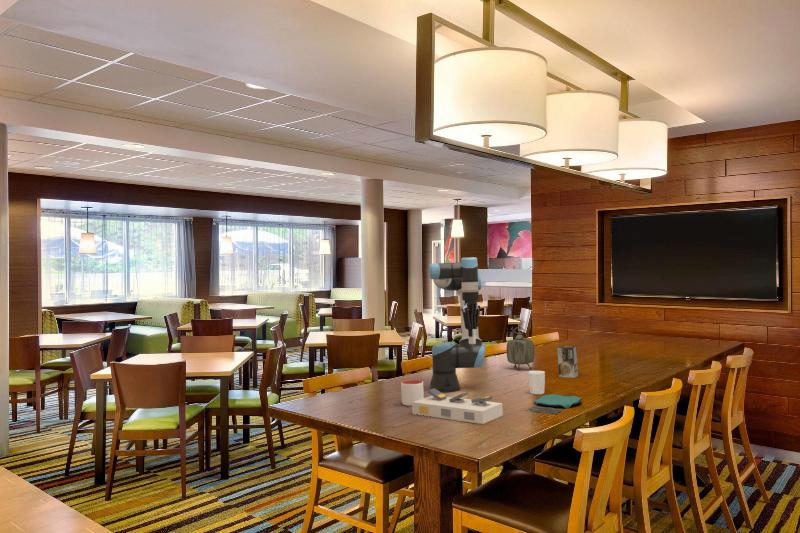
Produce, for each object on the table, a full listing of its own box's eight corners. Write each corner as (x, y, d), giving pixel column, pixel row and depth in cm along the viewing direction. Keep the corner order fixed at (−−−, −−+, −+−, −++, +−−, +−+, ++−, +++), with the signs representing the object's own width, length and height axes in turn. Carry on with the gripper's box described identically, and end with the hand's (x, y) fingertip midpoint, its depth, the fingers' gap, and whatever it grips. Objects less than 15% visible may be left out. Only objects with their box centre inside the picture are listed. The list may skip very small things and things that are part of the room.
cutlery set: (588, 401, 268) (588, 396, 268) (561, 417, 245) (561, 411, 245) (546, 397, 281) (545, 392, 281) (516, 412, 257) (516, 406, 257)
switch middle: (450, 402, 254) (448, 399, 254) (456, 400, 258) (455, 397, 258) (462, 396, 250) (461, 393, 250) (468, 394, 254) (467, 391, 254)
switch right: (471, 403, 247) (471, 399, 247) (477, 400, 251) (477, 397, 251) (486, 401, 243) (485, 397, 243) (492, 399, 247) (491, 395, 247)
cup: (408, 407, 268) (407, 385, 268) (398, 403, 277) (397, 381, 277) (428, 404, 273) (427, 382, 273) (417, 401, 282) (416, 379, 282)
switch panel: (412, 414, 256) (411, 400, 256) (434, 406, 269) (433, 393, 269) (482, 424, 235) (481, 409, 235) (502, 415, 248) (502, 401, 248)
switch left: (427, 392, 261) (428, 389, 261) (433, 390, 265) (434, 387, 264) (439, 400, 257) (440, 398, 257) (446, 398, 261) (447, 395, 260)
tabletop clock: (535, 369, 355) (533, 326, 355) (527, 372, 348) (525, 328, 348) (514, 367, 365) (512, 325, 365) (505, 369, 358) (504, 327, 358)
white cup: (546, 394, 285) (545, 373, 285) (528, 394, 286) (528, 373, 286) (545, 391, 293) (544, 370, 293) (528, 391, 294) (527, 370, 294)
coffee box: (578, 376, 329) (577, 346, 329) (575, 378, 324) (573, 347, 324) (561, 375, 334) (560, 345, 334) (558, 377, 329) (557, 347, 329)
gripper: (469, 292, 268) (471, 345, 268) (484, 290, 278) (486, 342, 278) (455, 292, 272) (457, 345, 272) (470, 290, 283) (472, 341, 282)
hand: (472, 343), depth 275 cm, fingers closed
